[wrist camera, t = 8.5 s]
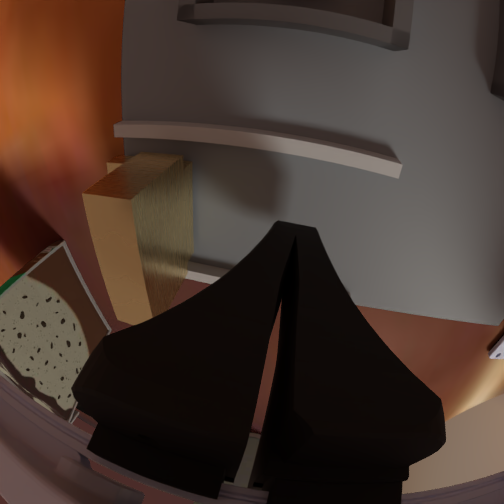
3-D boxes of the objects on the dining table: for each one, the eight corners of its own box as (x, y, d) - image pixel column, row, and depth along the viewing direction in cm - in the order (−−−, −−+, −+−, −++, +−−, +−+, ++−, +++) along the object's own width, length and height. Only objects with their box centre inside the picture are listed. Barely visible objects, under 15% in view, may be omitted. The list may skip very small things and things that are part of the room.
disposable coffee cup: (207, 435, 36) (180, 523, 24) (220, 416, 29) (185, 531, 18) (276, 453, 36) (256, 539, 24) (305, 437, 30) (285, 548, 18)
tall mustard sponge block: (192, 148, 10) (130, 199, 6) (194, 260, 13) (156, 332, 9) (117, 143, 10) (44, 188, 7) (131, 247, 13) (84, 307, 10)
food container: (15, 223, 18) (-64, 305, 10) (56, 221, 16) (-41, 326, 9) (73, 328, 25) (26, 405, 17) (118, 340, 24) (69, 433, 16)
